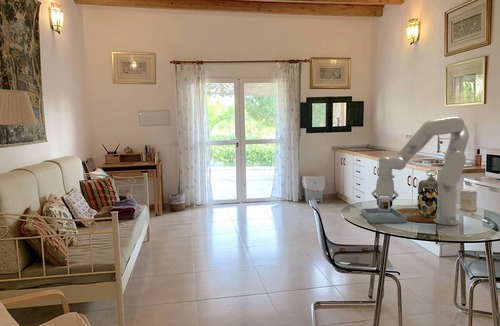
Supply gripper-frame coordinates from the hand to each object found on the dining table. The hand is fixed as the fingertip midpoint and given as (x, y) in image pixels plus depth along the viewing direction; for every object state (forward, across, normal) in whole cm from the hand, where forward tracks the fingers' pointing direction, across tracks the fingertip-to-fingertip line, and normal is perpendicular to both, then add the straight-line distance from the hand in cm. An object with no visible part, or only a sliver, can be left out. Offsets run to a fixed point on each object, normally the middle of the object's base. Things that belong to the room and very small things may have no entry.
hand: (384, 206), depth 214 cm
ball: (-1, -1, -3) cm, 3 cm away
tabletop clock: (+7, -28, -43) cm, 52 cm away
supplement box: (+7, -49, -36) cm, 61 cm away
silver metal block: (+1, 0, 0) cm, 1 cm away
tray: (+8, +1, 0) cm, 8 cm away
